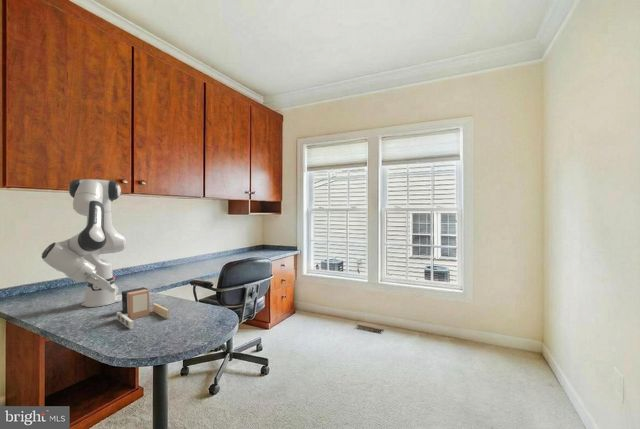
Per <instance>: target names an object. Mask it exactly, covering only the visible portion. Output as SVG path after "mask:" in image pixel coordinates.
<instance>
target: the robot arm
mask: <svg viewBox="0 0 640 429" xmlns="http://www.w3.org/2000/svg"><path fill="white" fill-rule="evenodd" d="M68 192H69V195H70V196H71V197H72V198H73V200H72V201H73V202H72V209H73V210H74V211H75V212H76V213H77V214H79V215H81V216H84V217H86V226H85V227H84V229H83V230H82V231H80V232H79V233H77V234H75V235H74V236H72V237H70V238H68V239H65V240H62V241H58V242H56V241H55V242H53V243H50V244H49V245H48V246H47V247H46V248H45V249H44V250H43V252H42V253H41V259H42V261H44V262H45V263H46V265H49V267H51V268H53V269H54V270H56V271H57V272H61V273H64V275H65V276H66V277H67V278H69V279H71V280H72V281H74V282H76V283H77V284H79V283H86V282H87V283H86V284H87V288H86V289H85V290H84V296H83V297H84V299H83V301H84V302H82V303H81V304H80V305H81V307H82V306H83V307H87V308H95V307H96V308H97V307H101V306H102V307H103V306H107V305H111V304H115V303H119V302H122V293H121V294H120V293H119V287H118V286H117V285H116V283H115V279H116V278H115V275H113V273H114V272H113V264H112V262H110V261H108V260H105V259H102V258H100V257H99V255H104V254H115V253H119V252H122V251H124V250H125V249H126V247H127V244H128V242H127V239H126V237H125V236H124V235H123V234H120V233H119V232H118V230H116V228H115V227H114V225H113V217H112V214H113V213H112V202H114V201H116V200H117V199H118V198H120V196H121V194H122V189H121V186H120V184H119V183H118V182H117V181H114V180H107V179H98V178H97V179H92V178H90V179H89V178H88V179H87V178H86V179H81V178H80V179H79V178H77V179H73V180H71V181H70V183H69V185H68Z"/></svg>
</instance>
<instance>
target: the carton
mask: <svg viewBox="0 0 640 429" xmlns="http://www.w3.org/2000/svg"><path fill="white" fill-rule="evenodd" d="M127 311H128V313H127V317H128V318H130V319H131V320H136V319H139V318H143V317H147V316H148V317H149V316H150V315H151V314H150V313H151V312H150V290H149V289H148V290H146V289H144V290H139V291H134V292H128V293H127Z"/></svg>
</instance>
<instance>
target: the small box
mask: <svg viewBox="0 0 640 429" xmlns="http://www.w3.org/2000/svg"><path fill="white" fill-rule="evenodd" d="M144 289H146V290H148V291H149V289H148V287H147V288H146V287H143V286H142V287H138V288H133V289H127V290H122V291H121V294H122V300H121V304H122V309H121V311H122V312H123V313H125V314H128V311H127V293H128V292H134V291H139V290H144Z"/></svg>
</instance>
